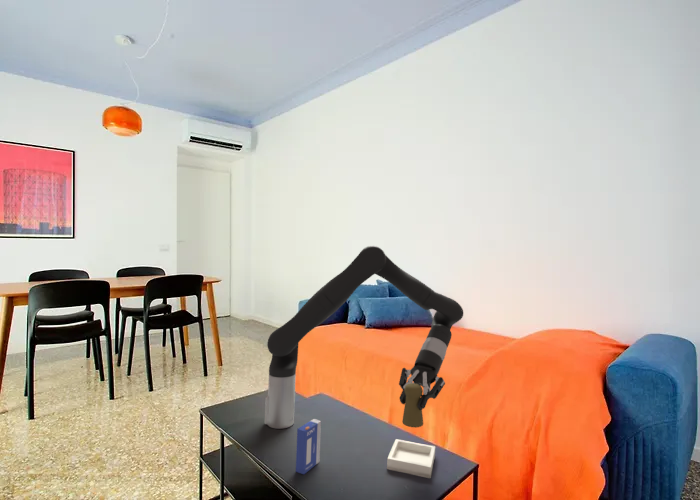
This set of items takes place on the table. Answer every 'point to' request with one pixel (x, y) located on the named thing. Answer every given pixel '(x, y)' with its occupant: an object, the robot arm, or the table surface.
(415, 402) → the olive pepper mill
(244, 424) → the table surface
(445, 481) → the table surface
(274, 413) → the robot arm
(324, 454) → the table surface
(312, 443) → the walkman
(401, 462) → the tray
